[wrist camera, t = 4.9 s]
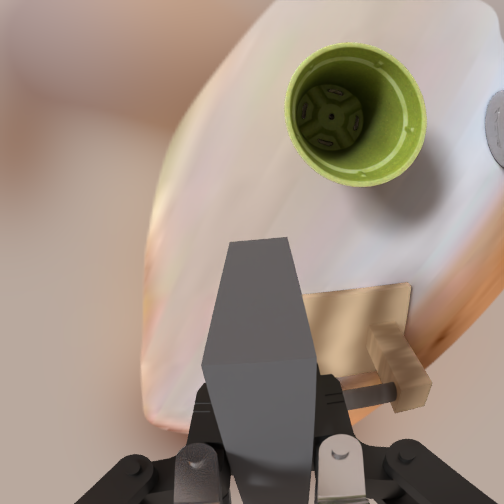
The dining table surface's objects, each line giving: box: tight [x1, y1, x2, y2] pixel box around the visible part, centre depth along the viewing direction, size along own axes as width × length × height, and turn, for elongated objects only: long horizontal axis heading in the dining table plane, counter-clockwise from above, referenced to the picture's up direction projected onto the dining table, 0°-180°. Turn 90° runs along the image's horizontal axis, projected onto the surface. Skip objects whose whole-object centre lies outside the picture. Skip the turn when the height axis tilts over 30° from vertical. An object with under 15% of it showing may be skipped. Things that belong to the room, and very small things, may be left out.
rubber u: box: [201, 237, 317, 504], centre depth 12 cm, size 2×9×8 cm, turn 5°
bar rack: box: [214, 282, 432, 413], centre depth 28 cm, size 20×11×11 cm, turn 96°
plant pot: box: [284, 42, 427, 187], centre depth 21 cm, size 9×9×9 cm
